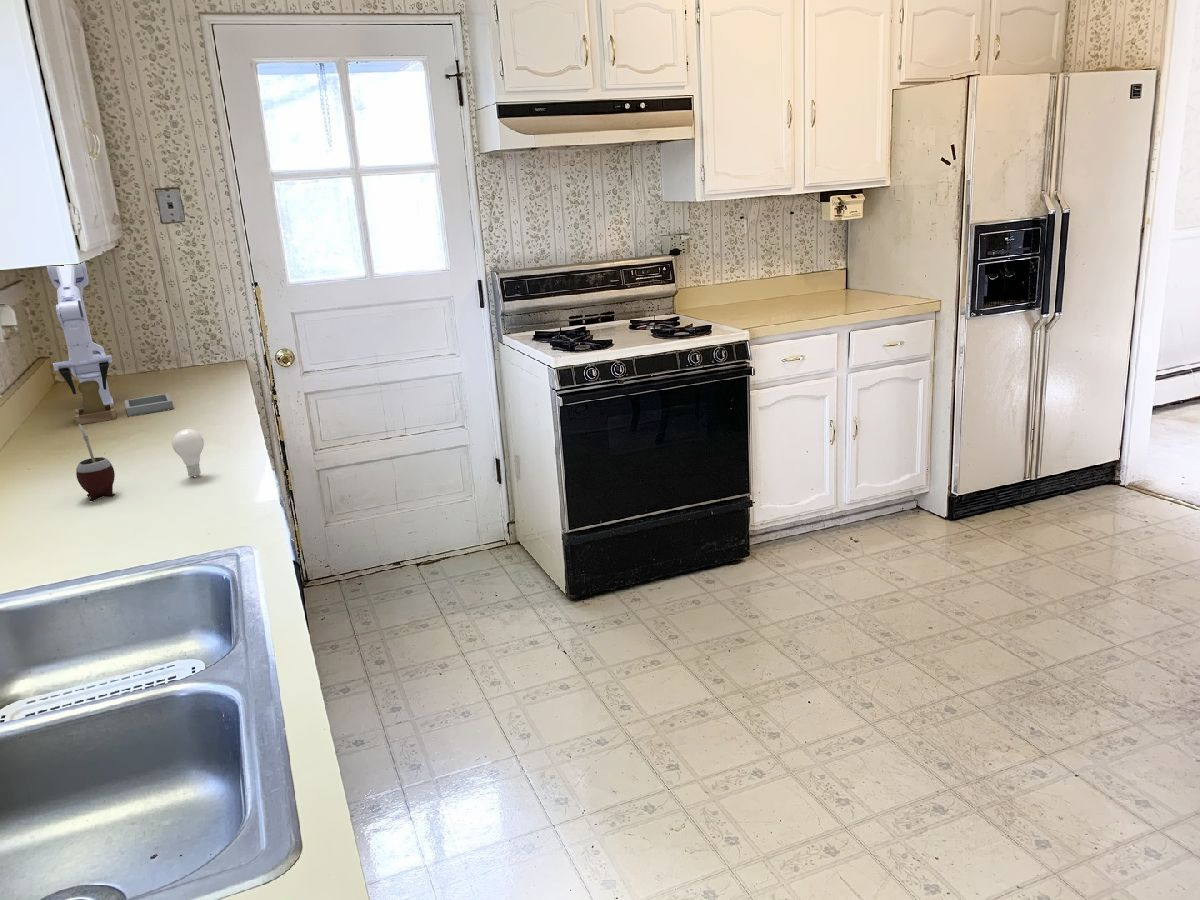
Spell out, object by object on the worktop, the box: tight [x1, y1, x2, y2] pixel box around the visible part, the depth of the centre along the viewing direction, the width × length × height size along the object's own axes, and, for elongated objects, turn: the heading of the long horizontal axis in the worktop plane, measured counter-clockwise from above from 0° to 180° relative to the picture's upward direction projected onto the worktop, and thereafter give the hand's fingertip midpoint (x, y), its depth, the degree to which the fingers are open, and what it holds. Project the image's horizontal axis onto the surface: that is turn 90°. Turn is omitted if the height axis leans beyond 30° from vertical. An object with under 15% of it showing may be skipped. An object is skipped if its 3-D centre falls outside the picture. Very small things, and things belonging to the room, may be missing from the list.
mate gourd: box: [75, 424, 116, 502], centre depth 192 cm, size 8×8×15 cm
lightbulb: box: [171, 428, 205, 478], centre depth 201 cm, size 6×6×11 cm
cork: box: [77, 380, 106, 415], centre depth 258 cm, size 6×6×11 cm
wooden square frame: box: [74, 403, 117, 426], centre depth 259 cm, size 10×10×2 cm
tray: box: [124, 392, 174, 417], centre depth 267 cm, size 12×12×2 cm
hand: (90, 391), depth 257 cm, fingers open, 7 cm apart
